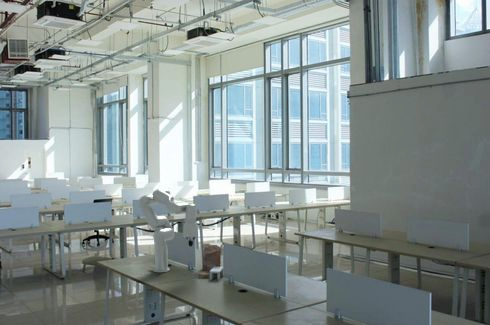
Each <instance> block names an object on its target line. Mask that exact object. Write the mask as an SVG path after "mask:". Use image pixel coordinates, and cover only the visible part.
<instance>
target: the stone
mask: <svg viewBox="0 0 490 325" xmlns="http://www.w3.org/2000/svg"><path fill="white" fill-rule="evenodd" d="M221 249H222V247H221V246H219V245H218V244H210V243H203V244H202V246H201V261H202V270H204V271H206V272H210V270H211V269H212V268H213V267H221V265H222V264H221V262H222V261H221V255H222V250H221Z"/></svg>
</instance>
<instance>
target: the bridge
mask: <svg viewBox="0 0 490 325" xmlns="http://www.w3.org/2000/svg"><path fill="white" fill-rule="evenodd" d="M223 270H224V266H220V267H213V268H212V269H211V270H210V278H209V280H211V281H213V278H212V273H218V274H217V278H216V280H217V281H220V280H221V277H223V276H224V275H223ZM224 271H225V270H224Z"/></svg>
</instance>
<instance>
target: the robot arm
mask: <svg viewBox="0 0 490 325" xmlns="http://www.w3.org/2000/svg"><path fill="white" fill-rule="evenodd" d="M160 204H162V205H164V206H165V208H166V209H167V210H168V211H169V212H170V213H173V214H174V215H181V214H185V218H184V219H183V222H184V223H183V232H182V234H183V238H184V239H186V240H187V241H188V246H189V247H193V245H194V240H196V239H198V238H199V229H198V228H199V227H198V223H197V205H196V204H194V203H188V202H182V203H181V202H180V203H176V202H174V196H173V195H171V192H170V190H169V189H167V188H160V189H159V188H158V189H156V190H153V192H152V194H144V195H142V196H141V197H140V198H139V201H138V208H139V209H140V212H141V213H142V214H143V216H144V218H145V220H146V221H147V224H148V226H149V227H150V229H151V230H155V231H154V232H153V242H154V264H149V267H150V268H151V269H152V271H153V272H154V273H167V272H170V270H171V269H170V267H169V264H168V263H169V262H168V260H169V259H168V258H169V257H168V256H169V255H168V252H169V250H168V245H167V243H166V242H167V241H171V240H173V239H174V238H175V230H174V229H173V226H172V224H171V223H170V221H169V219H168V218H167V217H166V216H164V215H159V216H158V215H157V213H156V211H155V209H153V208H152V207H151V206H156V205H160Z"/></svg>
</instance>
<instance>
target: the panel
mask: <svg viewBox="0 0 490 325" xmlns="http://www.w3.org/2000/svg"><path fill="white" fill-rule="evenodd" d="M217 274H218V273H212V279H217ZM197 278H202V279H210V272H208V271H205V270H204V271H203V270H201V271H200V272H199V273H198V277H197Z"/></svg>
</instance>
